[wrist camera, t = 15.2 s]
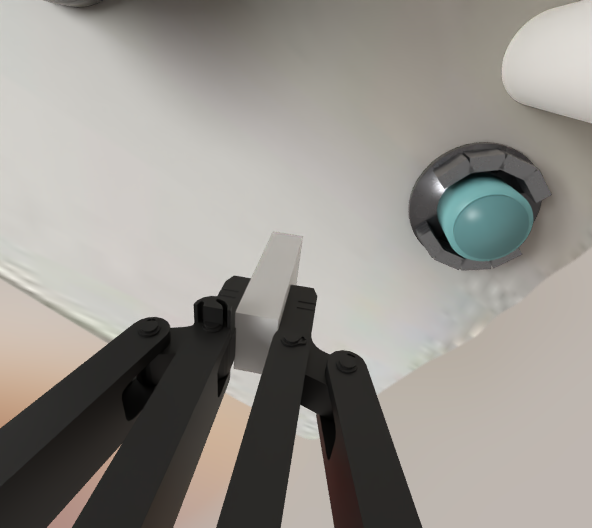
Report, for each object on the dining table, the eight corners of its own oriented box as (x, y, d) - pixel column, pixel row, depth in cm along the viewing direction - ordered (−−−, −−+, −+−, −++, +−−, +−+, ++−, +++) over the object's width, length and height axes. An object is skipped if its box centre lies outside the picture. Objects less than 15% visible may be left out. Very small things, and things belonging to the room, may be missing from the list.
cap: (446, 170, 39) (459, 187, 34) (523, 175, 38) (549, 193, 33) (430, 236, 43) (440, 260, 38) (499, 242, 42) (519, 267, 37)
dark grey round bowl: (428, 133, 39) (435, 140, 35) (562, 152, 38) (583, 161, 34) (395, 247, 46) (399, 262, 42) (507, 265, 45) (520, 282, 41)
